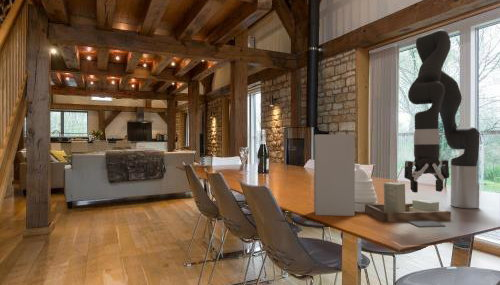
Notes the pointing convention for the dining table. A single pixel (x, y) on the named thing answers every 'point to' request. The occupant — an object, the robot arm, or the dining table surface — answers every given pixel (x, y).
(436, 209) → the offcut upper
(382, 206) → the rack
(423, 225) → the felt mat
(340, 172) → the tall grey box
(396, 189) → the skincare box
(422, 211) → the offcut lower
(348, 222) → the dining table surface
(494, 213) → the dining table surface
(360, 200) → the honey pot
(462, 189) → the robot arm
